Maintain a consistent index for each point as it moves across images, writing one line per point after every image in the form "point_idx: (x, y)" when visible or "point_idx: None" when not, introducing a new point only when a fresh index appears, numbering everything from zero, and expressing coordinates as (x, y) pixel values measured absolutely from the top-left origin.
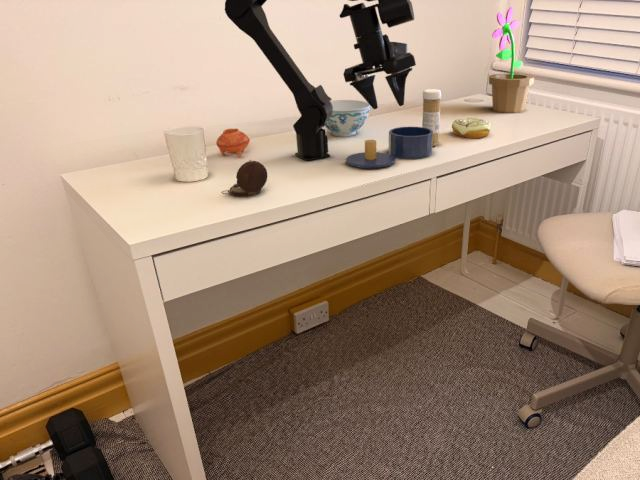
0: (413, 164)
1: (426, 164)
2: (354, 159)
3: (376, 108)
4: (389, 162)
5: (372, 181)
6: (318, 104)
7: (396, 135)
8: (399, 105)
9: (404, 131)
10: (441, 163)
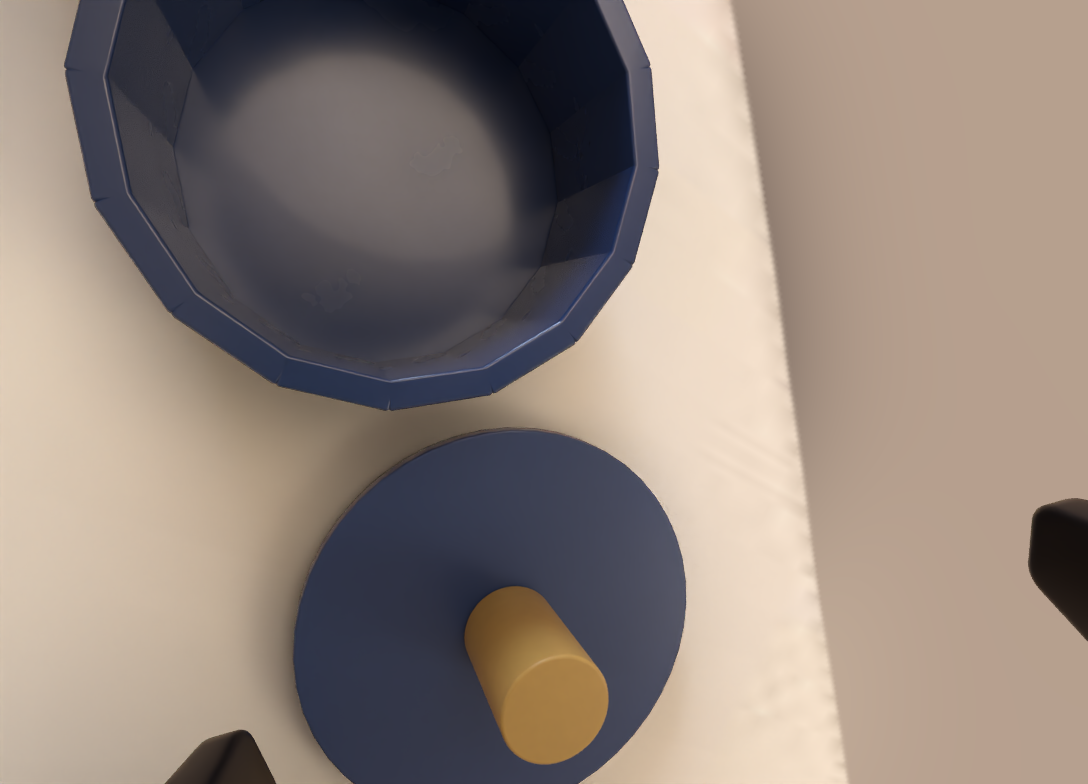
0: (667, 333)
1: (709, 248)
2: (473, 756)
3: (258, 752)
4: (667, 532)
5: (824, 707)
6: None
7: (501, 386)
8: (1050, 589)
9: (130, 72)
10: (739, 135)
